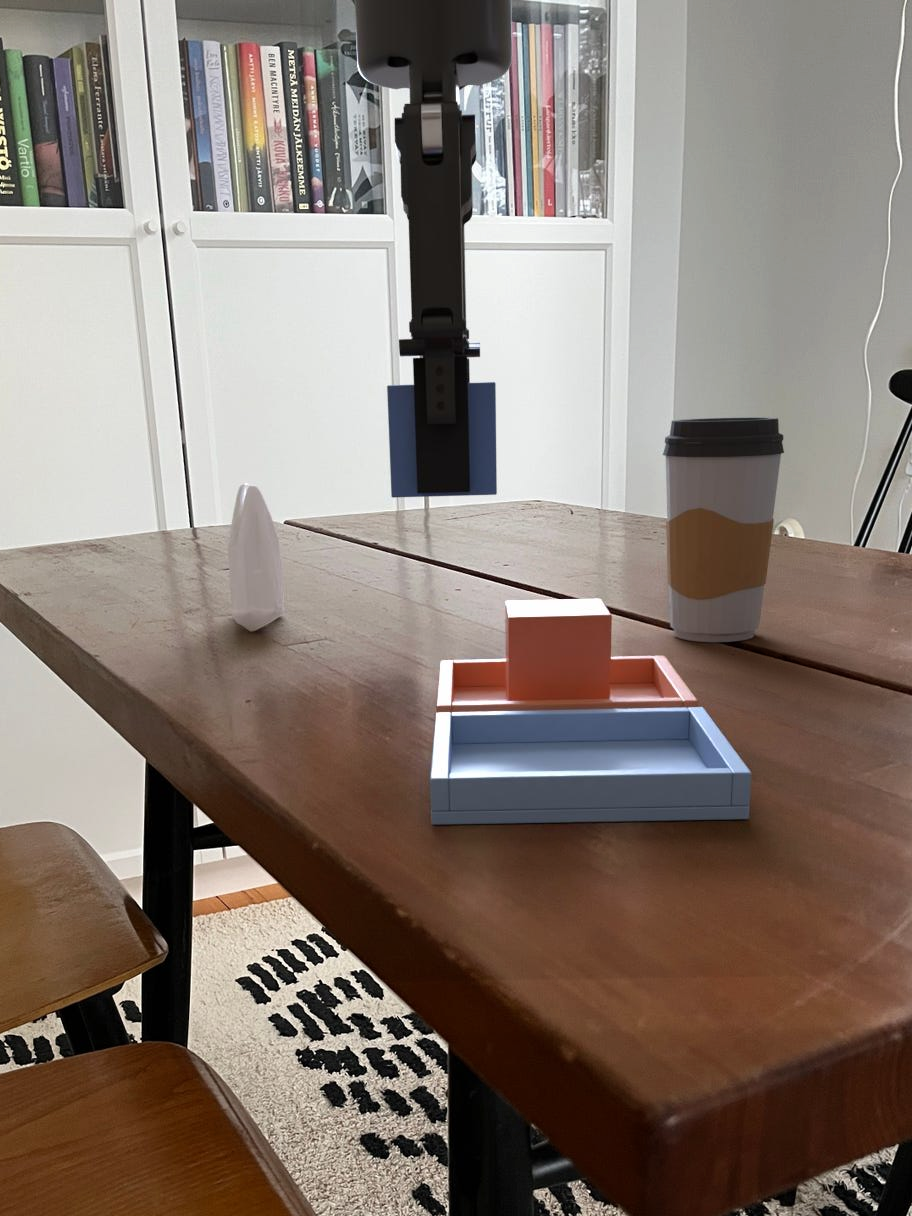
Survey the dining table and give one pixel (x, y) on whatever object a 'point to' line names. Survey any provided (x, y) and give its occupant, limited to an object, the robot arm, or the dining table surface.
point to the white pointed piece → (254, 562)
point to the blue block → (479, 441)
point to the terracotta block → (557, 649)
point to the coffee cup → (719, 523)
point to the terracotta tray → (629, 688)
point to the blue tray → (584, 767)
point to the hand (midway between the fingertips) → (445, 486)
